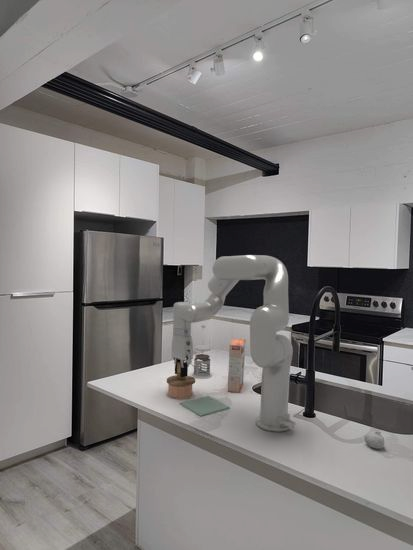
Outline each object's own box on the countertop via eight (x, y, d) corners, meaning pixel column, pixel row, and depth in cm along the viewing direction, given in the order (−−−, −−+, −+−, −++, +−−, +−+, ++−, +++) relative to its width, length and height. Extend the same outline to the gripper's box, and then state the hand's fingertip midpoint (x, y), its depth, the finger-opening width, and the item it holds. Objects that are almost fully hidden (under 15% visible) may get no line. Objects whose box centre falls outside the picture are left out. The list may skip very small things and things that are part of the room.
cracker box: (240, 393, 165) (242, 345, 164) (227, 392, 166) (228, 344, 165) (244, 383, 179) (246, 338, 178) (231, 381, 180) (233, 337, 179)
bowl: (196, 395, 161) (196, 383, 161) (176, 400, 155) (176, 388, 155) (183, 388, 169) (183, 377, 168) (163, 392, 163) (164, 381, 163)
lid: (200, 382, 160) (201, 364, 160) (176, 387, 153) (176, 368, 153) (185, 375, 170) (185, 357, 169) (161, 379, 163) (161, 361, 162)
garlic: (387, 447, 121) (388, 431, 121) (381, 453, 117) (382, 436, 117) (367, 440, 125) (368, 425, 125) (361, 446, 121) (362, 430, 121)
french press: (215, 377, 185) (216, 326, 184) (192, 379, 181) (193, 327, 180) (207, 371, 194) (209, 322, 193) (185, 373, 190) (187, 323, 189)
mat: (229, 408, 148) (229, 406, 148) (200, 416, 140) (200, 415, 140) (208, 397, 159) (208, 395, 159) (179, 404, 151) (179, 402, 151)
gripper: (200, 334, 156) (199, 378, 157) (178, 327, 169) (178, 369, 170) (185, 336, 152) (184, 382, 152) (164, 329, 165) (163, 371, 166)
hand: (181, 374), depth 161 cm, fingers closed on lid, 3 cm apart
